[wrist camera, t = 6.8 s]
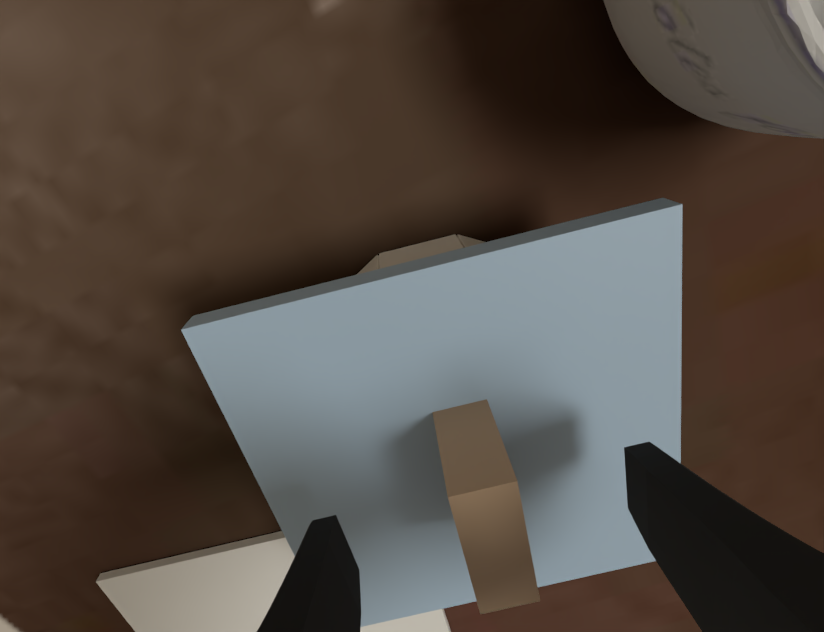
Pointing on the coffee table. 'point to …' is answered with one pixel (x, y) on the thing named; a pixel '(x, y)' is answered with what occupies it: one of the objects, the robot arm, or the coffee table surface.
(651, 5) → the teacup
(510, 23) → the coffee table surface
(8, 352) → the coffee table surface
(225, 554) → the mat
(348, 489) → the cover
